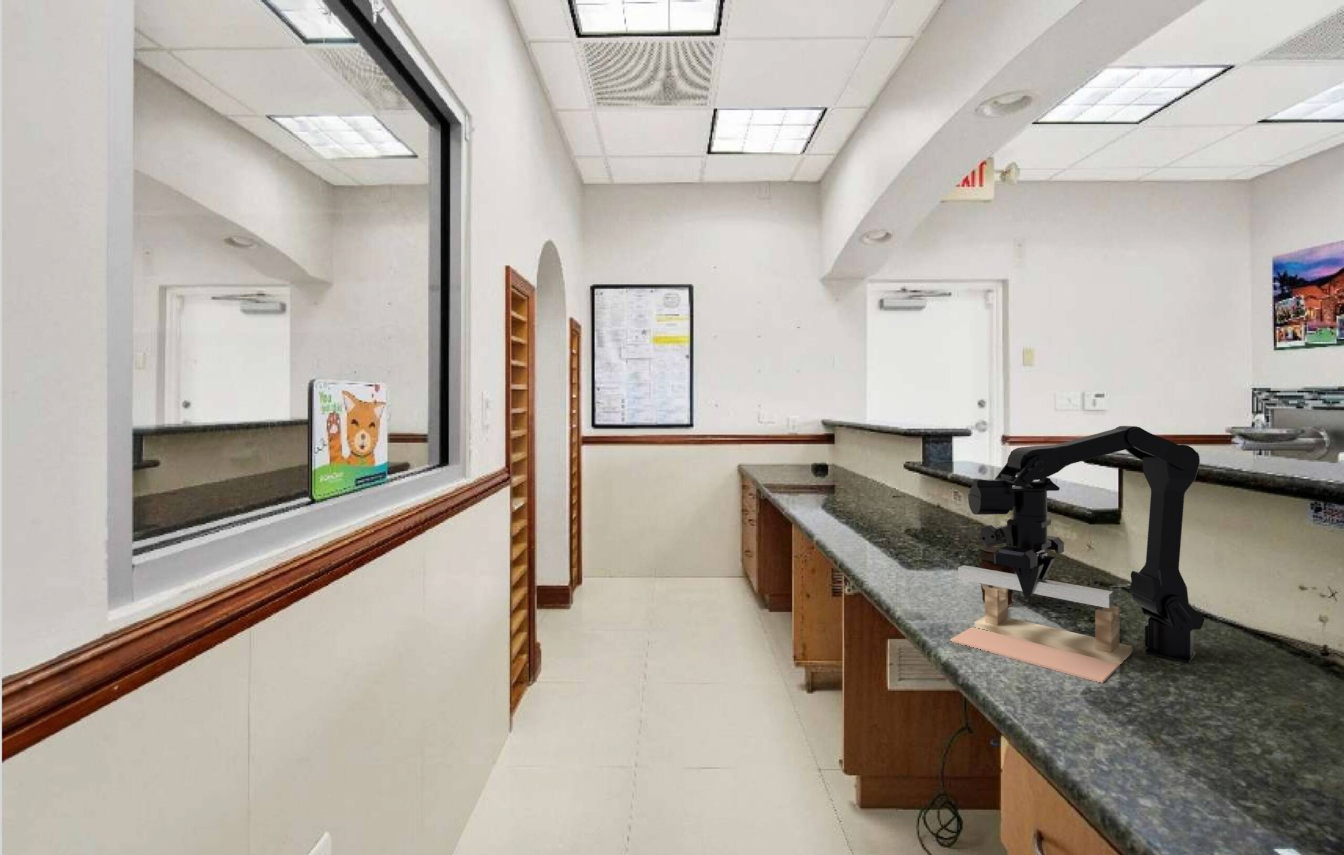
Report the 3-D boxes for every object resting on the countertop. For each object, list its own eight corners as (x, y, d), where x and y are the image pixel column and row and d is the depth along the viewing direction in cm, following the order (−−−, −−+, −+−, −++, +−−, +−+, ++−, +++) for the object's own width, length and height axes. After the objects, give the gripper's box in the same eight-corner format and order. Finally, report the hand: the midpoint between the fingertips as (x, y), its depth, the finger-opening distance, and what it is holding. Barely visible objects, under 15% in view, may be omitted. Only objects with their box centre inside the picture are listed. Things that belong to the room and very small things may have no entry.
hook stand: (1132, 652, 117) (1132, 607, 117) (1120, 664, 112) (1120, 617, 111) (989, 618, 137) (989, 580, 136) (974, 627, 131) (973, 587, 131)
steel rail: (1113, 605, 108) (1113, 591, 108) (1109, 608, 107) (1109, 594, 106) (963, 576, 128) (963, 565, 128) (958, 579, 126) (958, 567, 126)
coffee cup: (1014, 611, 141) (1014, 555, 140) (974, 605, 146) (974, 550, 145) (1020, 601, 148) (1020, 547, 147) (982, 595, 153) (982, 543, 152)
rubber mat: (1119, 666, 111) (1119, 664, 111) (1102, 683, 104) (1102, 681, 104) (972, 628, 131) (971, 626, 131) (950, 641, 124) (950, 639, 124)
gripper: (1004, 503, 129) (1005, 577, 129) (964, 515, 117) (965, 597, 117) (1064, 509, 120) (1065, 588, 121) (1028, 523, 108) (1029, 610, 109)
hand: (1030, 595), depth 117 cm, fingers closed on steel rail, 2 cm apart
